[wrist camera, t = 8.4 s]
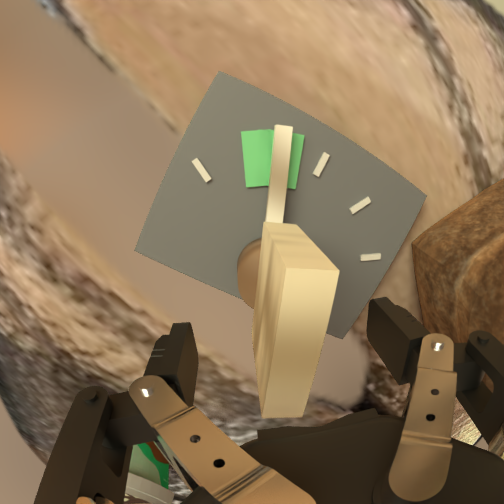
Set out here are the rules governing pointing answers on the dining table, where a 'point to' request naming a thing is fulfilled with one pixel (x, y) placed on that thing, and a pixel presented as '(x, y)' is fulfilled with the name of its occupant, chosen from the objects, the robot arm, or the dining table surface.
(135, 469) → the food container
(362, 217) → the gauge plate
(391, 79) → the dining table surface
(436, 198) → the dining table surface
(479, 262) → the bread
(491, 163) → the dining table surface
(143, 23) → the dining table surface
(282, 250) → the dial needle
